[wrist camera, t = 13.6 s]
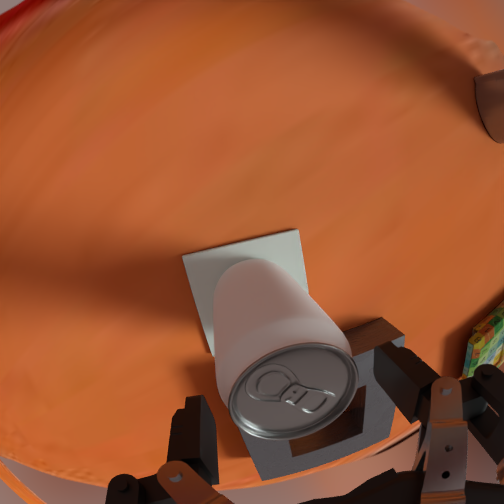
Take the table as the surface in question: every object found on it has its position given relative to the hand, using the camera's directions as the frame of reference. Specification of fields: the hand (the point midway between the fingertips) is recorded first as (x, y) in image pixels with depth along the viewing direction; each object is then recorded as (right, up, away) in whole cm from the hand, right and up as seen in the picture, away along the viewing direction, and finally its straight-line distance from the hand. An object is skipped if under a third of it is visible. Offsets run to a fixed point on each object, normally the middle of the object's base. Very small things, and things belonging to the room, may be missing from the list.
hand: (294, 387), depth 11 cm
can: (-2, +2, +11) cm, 11 cm away
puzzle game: (+37, -7, +19) cm, 42 cm away
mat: (-2, +2, +11) cm, 11 cm away
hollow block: (+5, -10, +15) cm, 18 cm away
